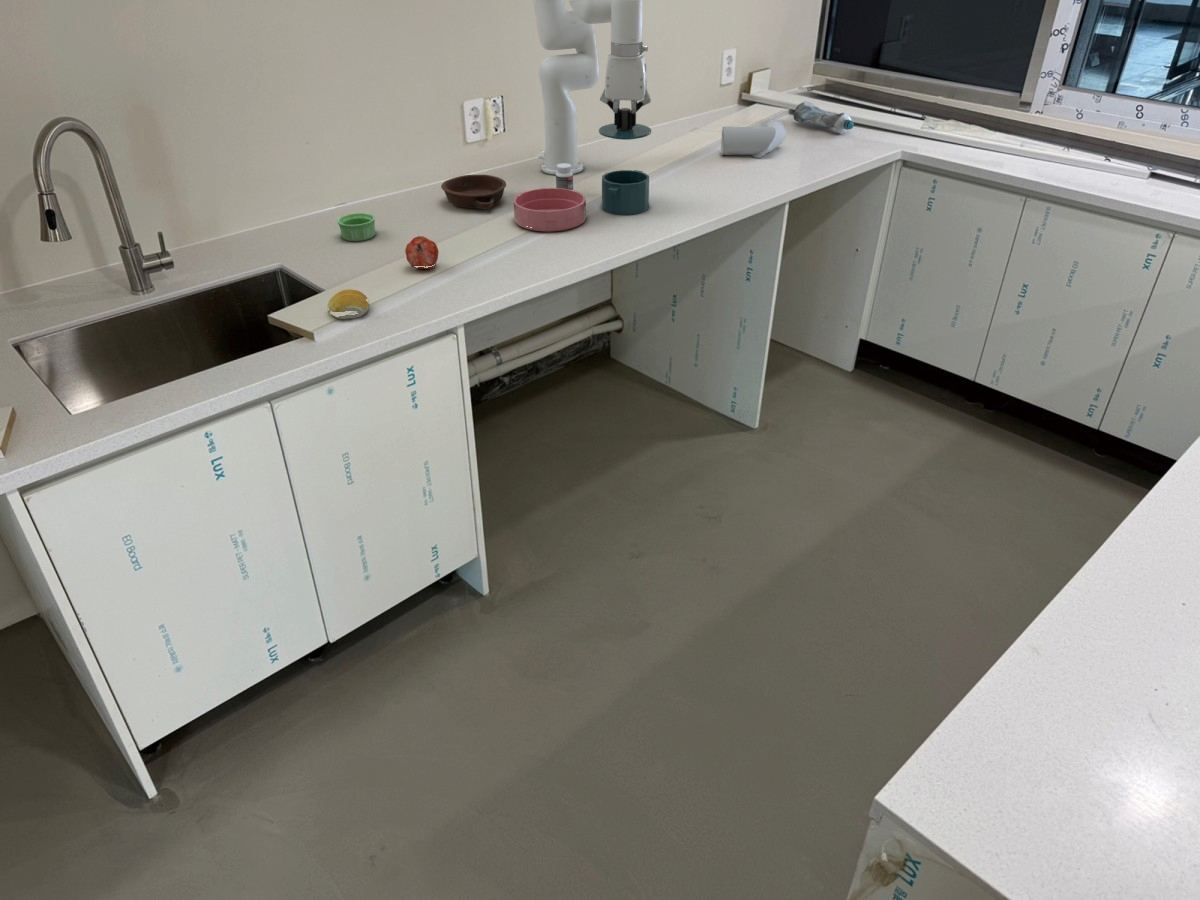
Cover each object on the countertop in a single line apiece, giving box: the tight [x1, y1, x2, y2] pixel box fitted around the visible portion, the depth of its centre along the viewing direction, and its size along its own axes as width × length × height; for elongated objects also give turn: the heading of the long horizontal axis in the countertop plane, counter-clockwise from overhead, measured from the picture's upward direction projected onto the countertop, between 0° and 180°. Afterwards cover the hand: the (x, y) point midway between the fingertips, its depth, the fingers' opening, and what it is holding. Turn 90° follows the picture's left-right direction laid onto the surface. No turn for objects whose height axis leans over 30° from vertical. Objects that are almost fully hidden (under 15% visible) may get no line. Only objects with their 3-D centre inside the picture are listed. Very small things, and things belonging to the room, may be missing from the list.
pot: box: [601, 169, 650, 216], centre depth 224 cm, size 12×18×8 cm
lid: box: [598, 107, 652, 141], centre depth 214 cm, size 13×13×6 cm
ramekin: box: [337, 212, 376, 242], centre depth 209 cm, size 9×9×4 cm
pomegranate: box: [404, 235, 440, 270], centre depth 191 cm, size 7×7×10 cm
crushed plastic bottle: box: [793, 101, 855, 135], centre depth 289 cm, size 13×7×25 cm
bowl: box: [513, 187, 587, 233], centre depth 216 cm, size 18×18×6 cm
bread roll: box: [327, 288, 370, 320], centre depth 173 cm, size 8×9×4 cm
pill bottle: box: [555, 163, 574, 190], centre depth 232 cm, size 5×5×8 cm
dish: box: [440, 174, 507, 210], centre depth 229 cm, size 18×22×5 cm
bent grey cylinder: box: [720, 119, 787, 159], centre depth 265 cm, size 18×10×20 cm
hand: (625, 127), depth 214 cm, fingers closed on lid, 2 cm apart
